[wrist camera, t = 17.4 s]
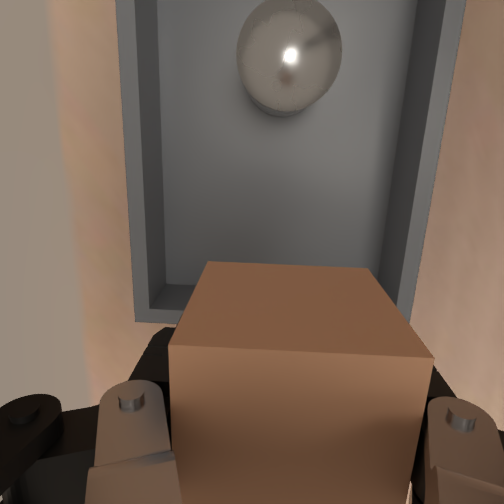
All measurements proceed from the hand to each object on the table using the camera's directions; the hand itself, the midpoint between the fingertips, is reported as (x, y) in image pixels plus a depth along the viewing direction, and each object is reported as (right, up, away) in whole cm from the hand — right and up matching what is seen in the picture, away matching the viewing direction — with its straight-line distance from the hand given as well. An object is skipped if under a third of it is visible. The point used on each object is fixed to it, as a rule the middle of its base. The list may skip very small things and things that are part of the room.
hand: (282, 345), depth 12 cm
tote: (+1, +11, +14) cm, 18 cm away
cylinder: (+1, +14, +13) cm, 19 cm away
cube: (0, 0, +1) cm, 1 cm away
